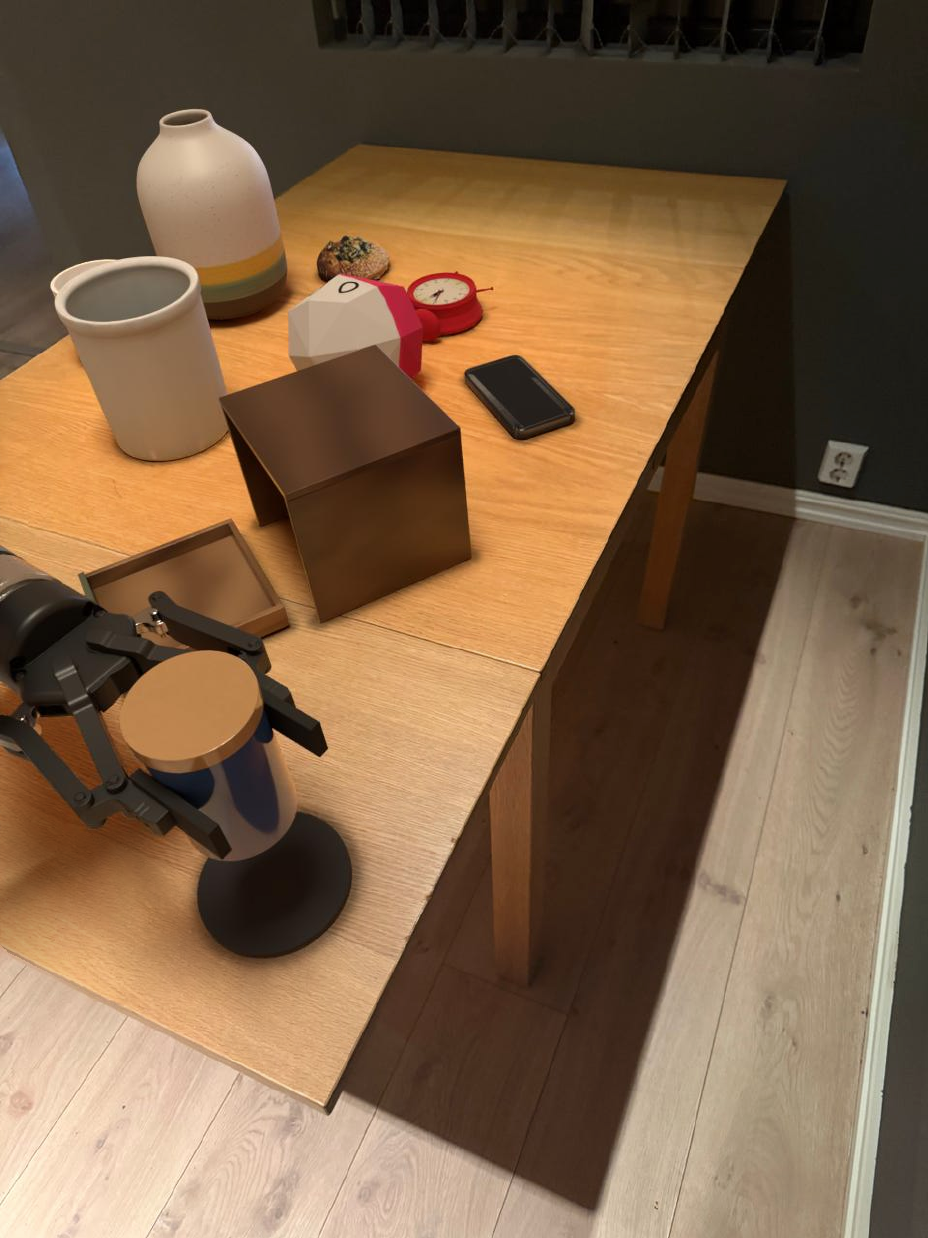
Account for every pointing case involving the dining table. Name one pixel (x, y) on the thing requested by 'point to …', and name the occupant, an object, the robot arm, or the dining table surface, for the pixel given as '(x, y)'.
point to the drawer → (193, 582)
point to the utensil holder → (148, 354)
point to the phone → (519, 396)
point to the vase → (213, 213)
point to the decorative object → (355, 323)
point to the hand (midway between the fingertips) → (271, 788)
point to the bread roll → (352, 259)
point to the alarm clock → (445, 303)
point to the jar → (213, 747)
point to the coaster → (277, 891)
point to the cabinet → (354, 475)
